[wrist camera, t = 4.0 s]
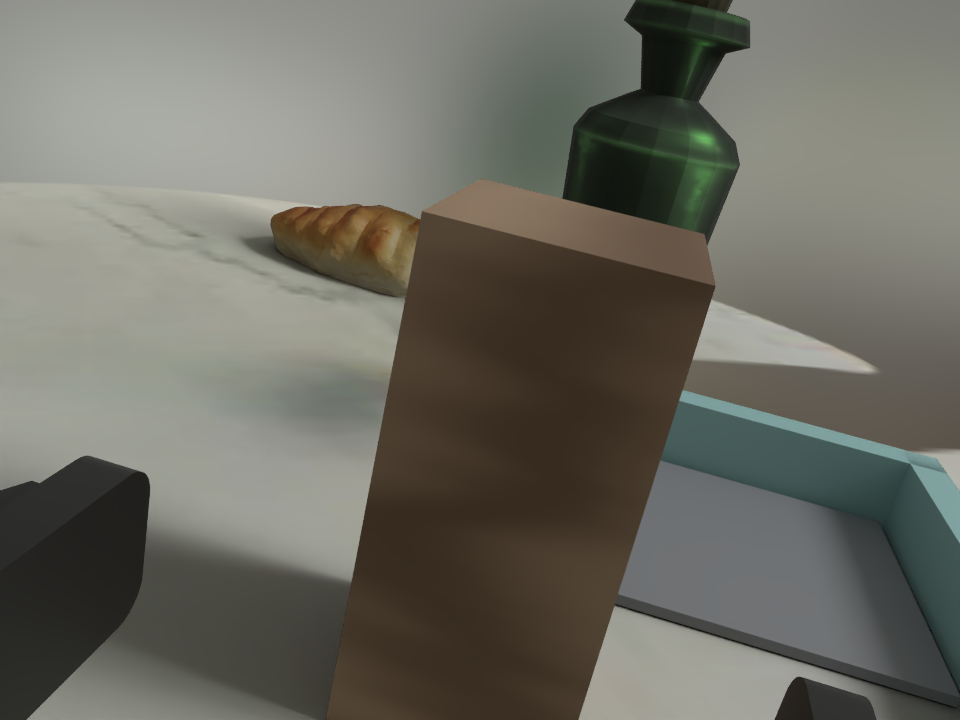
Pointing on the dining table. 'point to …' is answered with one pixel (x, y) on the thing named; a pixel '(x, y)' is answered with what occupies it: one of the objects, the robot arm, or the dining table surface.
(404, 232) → the pastry
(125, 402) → the dining table surface
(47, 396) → the dining table surface
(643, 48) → the potion bottle
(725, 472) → the teal corner fixture
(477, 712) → the walnut block
